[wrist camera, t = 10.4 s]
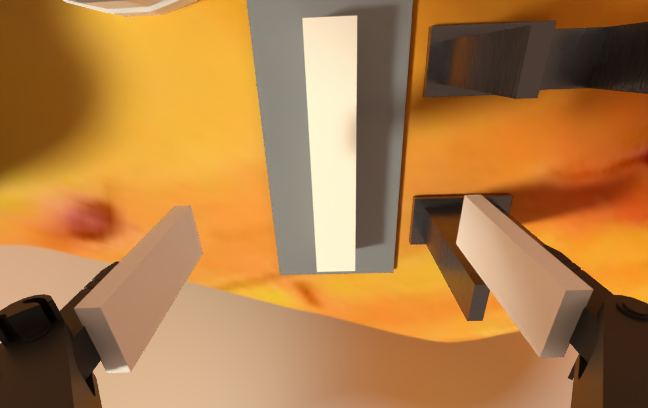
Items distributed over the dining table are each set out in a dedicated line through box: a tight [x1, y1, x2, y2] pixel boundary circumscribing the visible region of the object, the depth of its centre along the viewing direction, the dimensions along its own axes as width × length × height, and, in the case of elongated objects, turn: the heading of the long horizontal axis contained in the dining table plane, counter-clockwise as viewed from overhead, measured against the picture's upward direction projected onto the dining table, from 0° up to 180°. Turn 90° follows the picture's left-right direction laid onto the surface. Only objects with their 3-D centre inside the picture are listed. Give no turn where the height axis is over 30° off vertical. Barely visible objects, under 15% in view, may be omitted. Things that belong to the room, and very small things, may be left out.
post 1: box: [423, 21, 648, 99], centre depth 19 cm, size 9×5×12 cm, turn 92°
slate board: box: [247, 0, 413, 275], centre depth 27 cm, size 12×26×1 cm, turn 2°
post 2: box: [409, 194, 545, 321], centre depth 25 cm, size 9×5×12 cm, turn 92°
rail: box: [302, 16, 357, 272], centre depth 25 cm, size 4×20×4 cm, turn 2°
